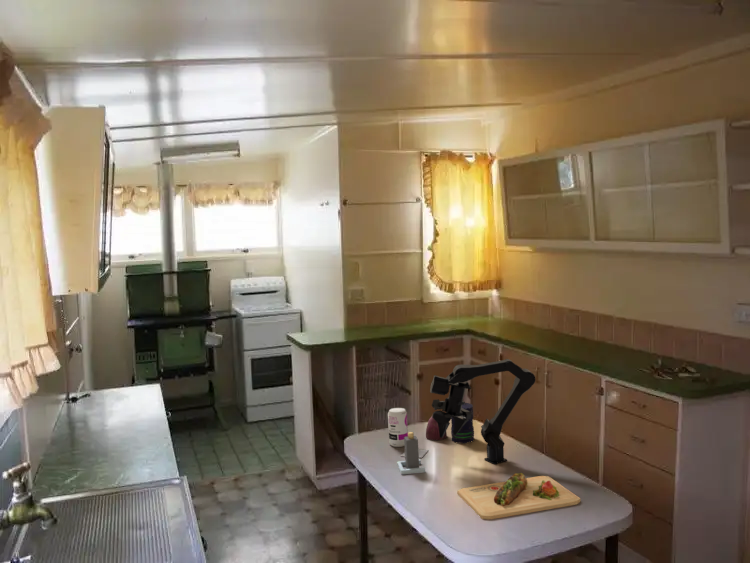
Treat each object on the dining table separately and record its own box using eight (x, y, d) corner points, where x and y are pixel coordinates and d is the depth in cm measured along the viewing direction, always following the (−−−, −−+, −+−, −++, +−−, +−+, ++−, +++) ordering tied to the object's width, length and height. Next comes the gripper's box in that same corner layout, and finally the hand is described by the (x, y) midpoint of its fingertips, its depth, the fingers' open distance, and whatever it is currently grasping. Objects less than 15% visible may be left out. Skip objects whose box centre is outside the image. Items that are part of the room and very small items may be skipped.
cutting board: (546, 479, 235) (546, 459, 234) (583, 505, 212) (582, 482, 212) (455, 494, 226) (454, 473, 226) (483, 522, 204) (482, 499, 203)
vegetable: (447, 446, 283) (450, 418, 278) (425, 444, 283) (428, 417, 278) (445, 434, 292) (448, 407, 287) (424, 432, 292) (427, 405, 287)
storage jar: (464, 445, 274) (462, 410, 273) (446, 440, 282) (445, 406, 280) (479, 438, 281) (477, 404, 280) (461, 434, 288) (460, 401, 287)
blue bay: (420, 463, 256) (420, 459, 256) (425, 472, 246) (425, 468, 246) (397, 465, 255) (397, 461, 255) (401, 474, 245) (401, 470, 245)
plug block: (417, 465, 253) (415, 430, 252) (419, 470, 249) (417, 434, 248) (405, 467, 253) (403, 431, 252) (407, 471, 248) (405, 435, 247)
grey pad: (428, 450, 270) (428, 450, 270) (421, 458, 261) (421, 457, 261) (407, 449, 273) (407, 448, 273) (400, 456, 265) (400, 455, 265)
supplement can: (408, 440, 283) (407, 407, 282) (407, 447, 275) (406, 412, 274) (390, 441, 284) (388, 407, 283) (388, 447, 276) (386, 412, 275)
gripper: (452, 389, 265) (445, 426, 266) (425, 392, 251) (417, 431, 252) (475, 398, 257) (467, 436, 259) (448, 401, 243) (440, 441, 244)
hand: (447, 436), depth 254 cm, fingers open, 9 cm apart
